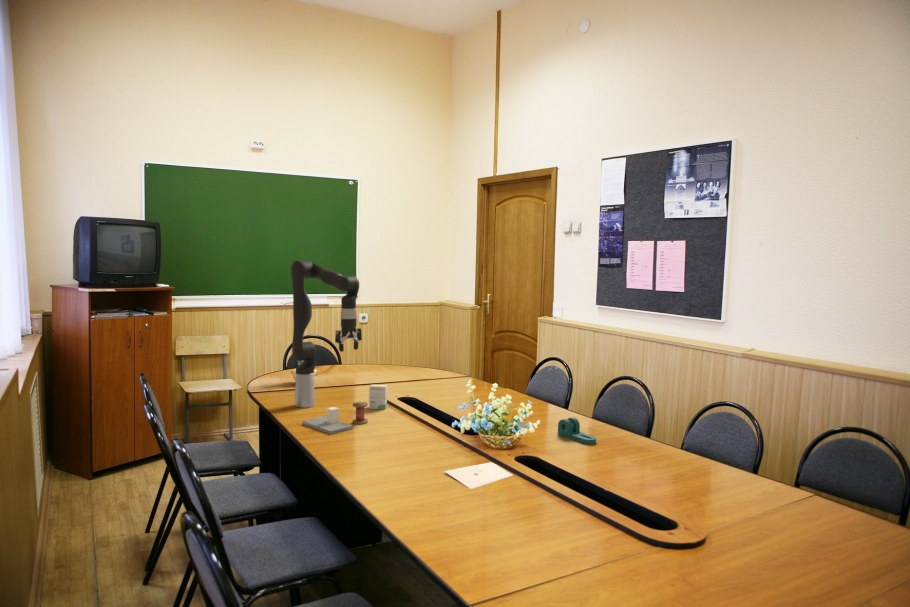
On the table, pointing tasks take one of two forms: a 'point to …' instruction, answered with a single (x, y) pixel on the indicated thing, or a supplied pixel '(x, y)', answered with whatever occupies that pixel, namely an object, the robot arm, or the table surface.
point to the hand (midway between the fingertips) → (348, 350)
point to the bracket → (574, 431)
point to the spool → (360, 413)
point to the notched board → (327, 425)
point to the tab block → (332, 415)
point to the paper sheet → (479, 474)
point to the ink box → (378, 397)
